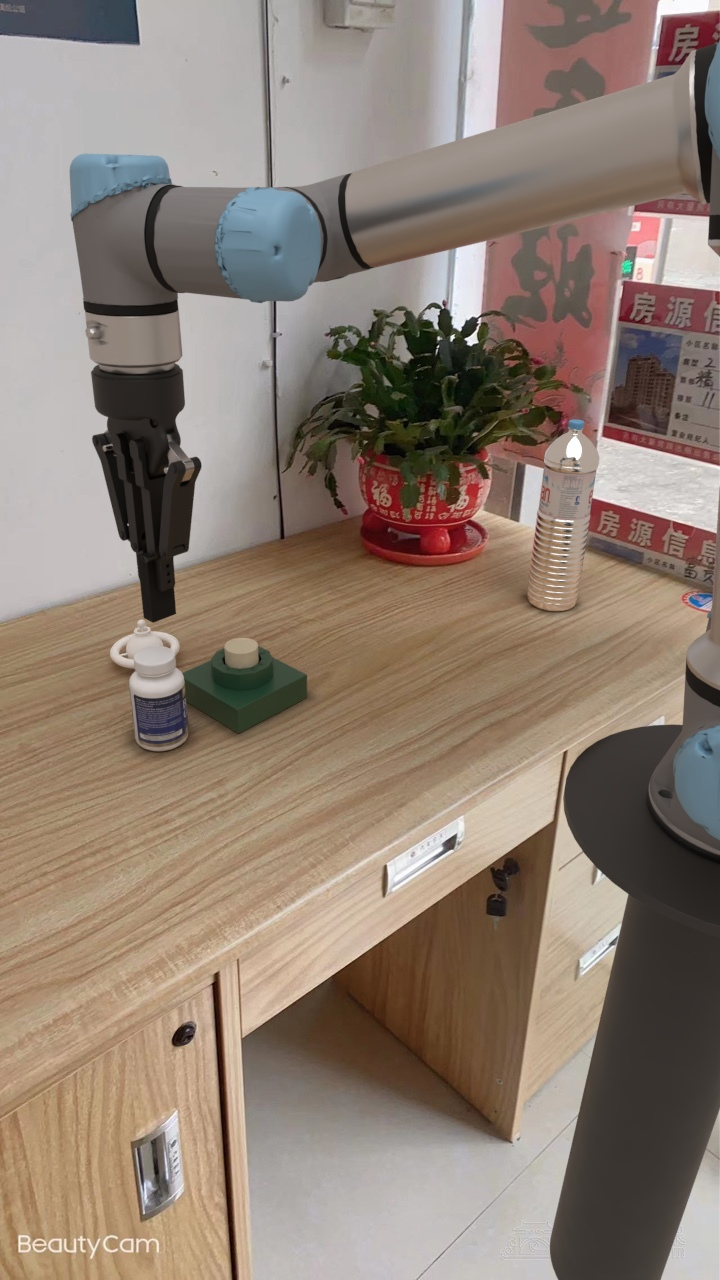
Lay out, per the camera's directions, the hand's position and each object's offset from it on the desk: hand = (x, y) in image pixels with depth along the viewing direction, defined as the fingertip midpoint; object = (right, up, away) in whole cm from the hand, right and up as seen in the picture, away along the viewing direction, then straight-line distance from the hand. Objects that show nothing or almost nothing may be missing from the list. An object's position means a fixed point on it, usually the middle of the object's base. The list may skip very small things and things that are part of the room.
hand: (160, 615), depth 85 cm
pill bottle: (-1, -13, +6) cm, 14 cm away
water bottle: (+46, +3, +37) cm, 59 cm away
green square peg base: (+6, -9, +13) cm, 17 cm away
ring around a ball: (-6, -5, +19) cm, 21 cm away
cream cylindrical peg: (+6, -5, +11) cm, 13 cm away
